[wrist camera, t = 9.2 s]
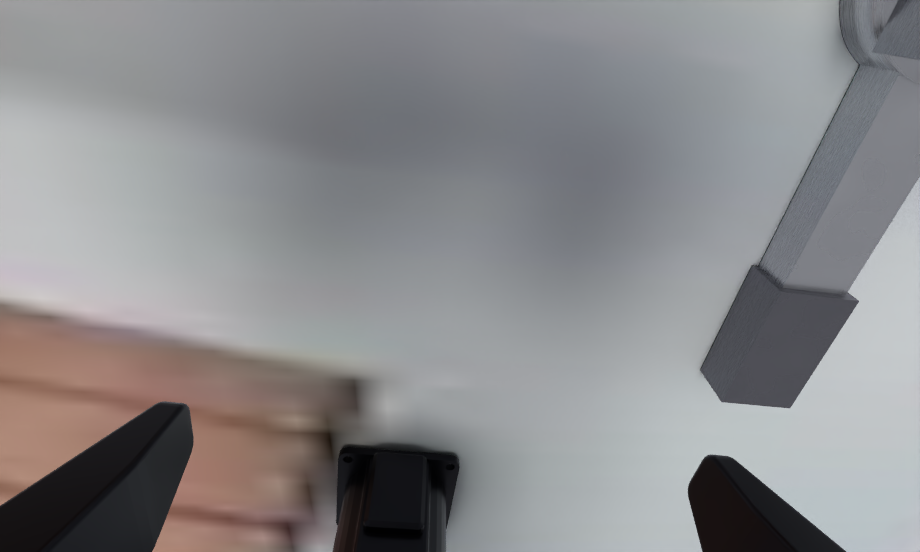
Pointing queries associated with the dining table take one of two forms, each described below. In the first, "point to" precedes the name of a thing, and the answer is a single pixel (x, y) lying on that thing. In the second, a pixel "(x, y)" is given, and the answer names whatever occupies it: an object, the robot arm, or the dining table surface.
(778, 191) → the dining table surface
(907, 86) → the gray handled tool
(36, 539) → the robot arm
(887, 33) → the gray block
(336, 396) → the dining table surface
